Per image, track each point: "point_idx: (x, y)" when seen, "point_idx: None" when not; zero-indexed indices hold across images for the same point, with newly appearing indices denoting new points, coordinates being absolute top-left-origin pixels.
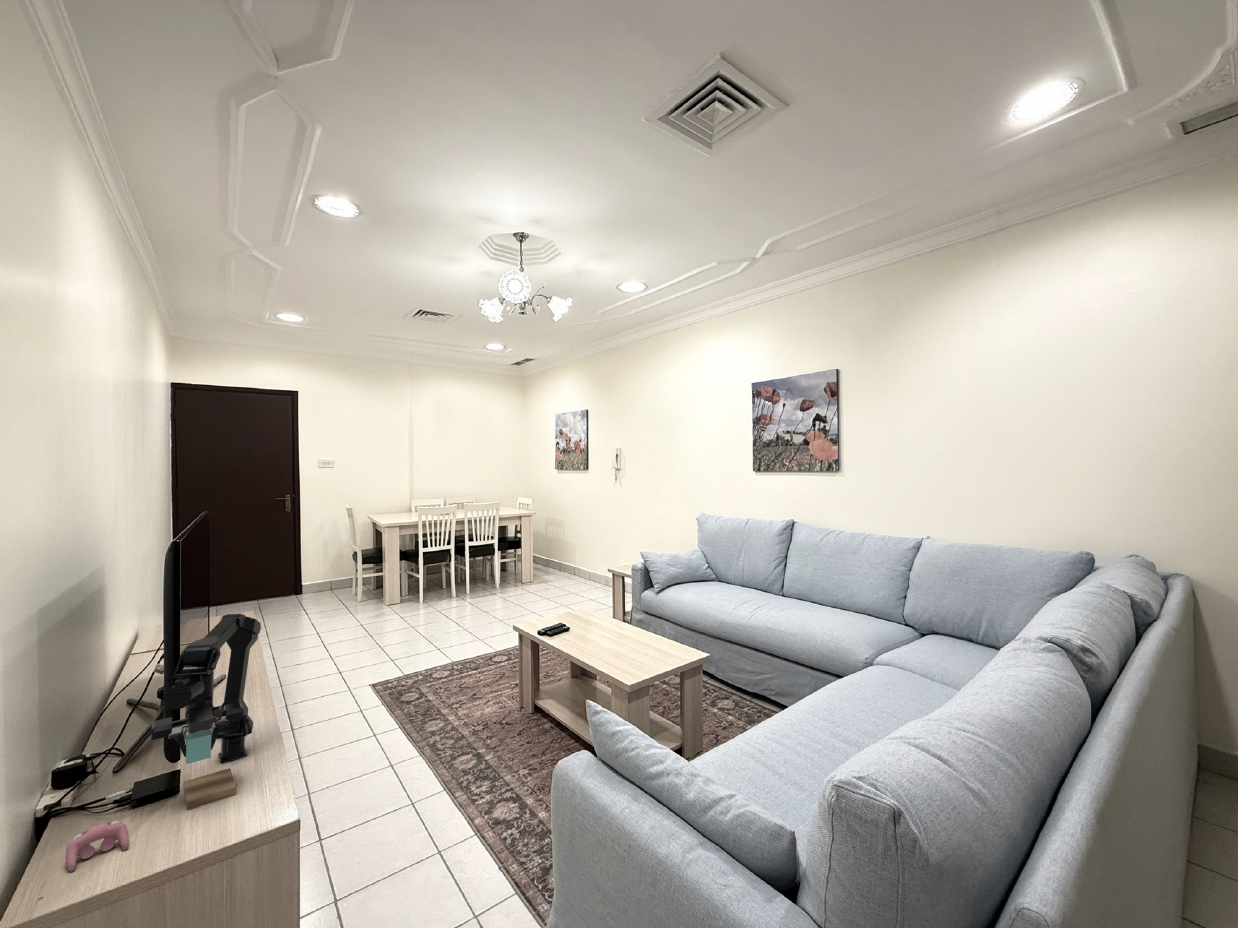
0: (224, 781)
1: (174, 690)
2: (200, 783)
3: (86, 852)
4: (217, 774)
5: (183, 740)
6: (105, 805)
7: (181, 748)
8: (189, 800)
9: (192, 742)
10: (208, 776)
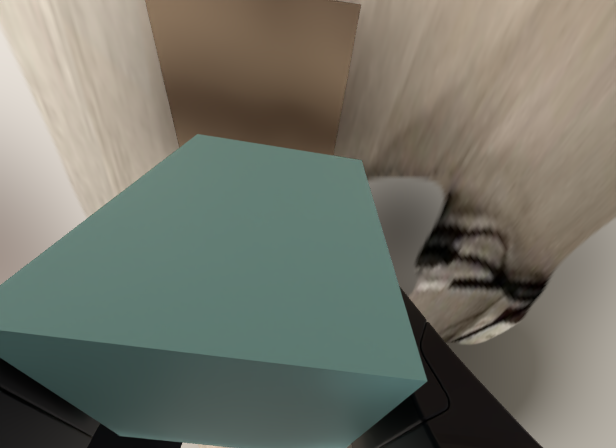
0: (202, 98)
1: None
2: None
3: None
4: None
5: (424, 393)
6: (472, 255)
7: (402, 294)
8: (348, 17)
9: (321, 298)
10: None
